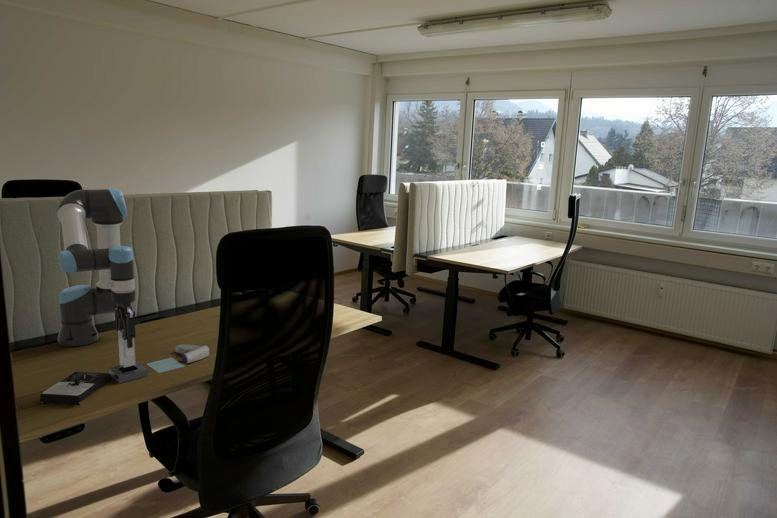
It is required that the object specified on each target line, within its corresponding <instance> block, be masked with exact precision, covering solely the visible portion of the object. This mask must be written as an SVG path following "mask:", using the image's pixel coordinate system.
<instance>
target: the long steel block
mask: <svg viewBox="0 0 777 518" xmlns="http://www.w3.org/2000/svg"><path fill="white" fill-rule="evenodd" d="M123 338H125V332H124V329H120V330H118V332H117V339H118V340H117V342H118V354H119V366H120V365H121V366H122V367H124V368H125V367H129V366H133V365H136V364H135V362H136V352H135V351H136V348H135V338H133V349H134V355H132V356H128V357H125V344H124V340H123Z"/></svg>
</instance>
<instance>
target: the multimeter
mask: <svg viewBox="0 0 777 518" xmlns="http://www.w3.org/2000/svg"><path fill="white" fill-rule="evenodd" d="M111 380H112V377H111V375H110V374H109V372H108V373H107V372H93V371H92V372H90V371H89V372H87V371H74V372H72V373H70V374H69V375H68V376H66V377H65V378H63V379H62V380H60V381H59V382H57V383H55V384H54V385H52V386H50V387H49V388H48V389H46V390H44V391H43V392H41V394H40V396H39V397H40V398H39V399H40V403H41V402H43V403H54V404H53V405H61V404H66V405H65V406H81V404H80V403H81V402H83V401H84V400H85V399H86V398H88V397H89V396H91V395H92V394H93V393H94V392H96V391H97V390H99V389H100V388H101V387H102V386H104V385H106V383H108V382H109V381H111Z"/></svg>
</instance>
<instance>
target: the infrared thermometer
mask: <svg viewBox="0 0 777 518" xmlns="http://www.w3.org/2000/svg"><path fill="white" fill-rule="evenodd" d="M175 353H178V354H181V359H182V361H183V363H184V364H191V363H194V362H196V361H201V360H203V359H205V358H209V356H210V347H209V346H208V345H205V344H203V345H193V344H185V343H184V344H183V343H182V344H178V345H175Z"/></svg>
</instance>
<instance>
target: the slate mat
mask: <svg viewBox="0 0 777 518" xmlns="http://www.w3.org/2000/svg"><path fill="white" fill-rule="evenodd" d="M146 365H147V366H148V367H150V368H151V369H152V370H154V371H155V372H157V373H158V374H161V373H165V372H169V371H172V370H173V371H174V370H177V369H181V368H184V367H186V366H185V365H184V364H183V363H182V362H180V361H178V360H176V359H175V358H173V357H168V358H164V359H159V360H155V361H153V362H152V361H151V362H147V363H146Z"/></svg>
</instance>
